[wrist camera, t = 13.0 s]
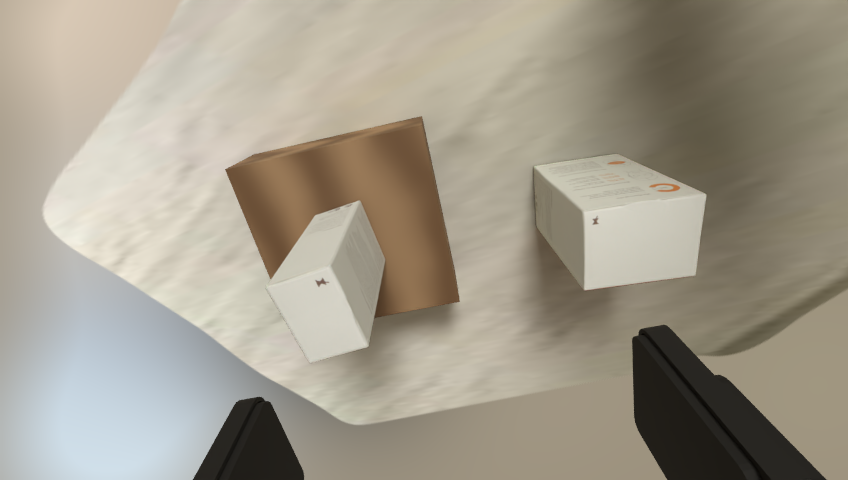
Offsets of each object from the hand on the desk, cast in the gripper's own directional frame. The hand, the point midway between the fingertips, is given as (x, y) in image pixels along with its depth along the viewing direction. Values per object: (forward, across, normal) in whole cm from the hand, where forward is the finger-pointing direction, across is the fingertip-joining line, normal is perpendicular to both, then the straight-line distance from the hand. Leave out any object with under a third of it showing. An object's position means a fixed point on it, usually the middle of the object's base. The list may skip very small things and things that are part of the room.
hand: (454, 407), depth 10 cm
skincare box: (+24, +8, +4) cm, 26 cm away
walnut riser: (+30, +8, +4) cm, 32 cm away
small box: (+31, -13, +6) cm, 34 cm away
